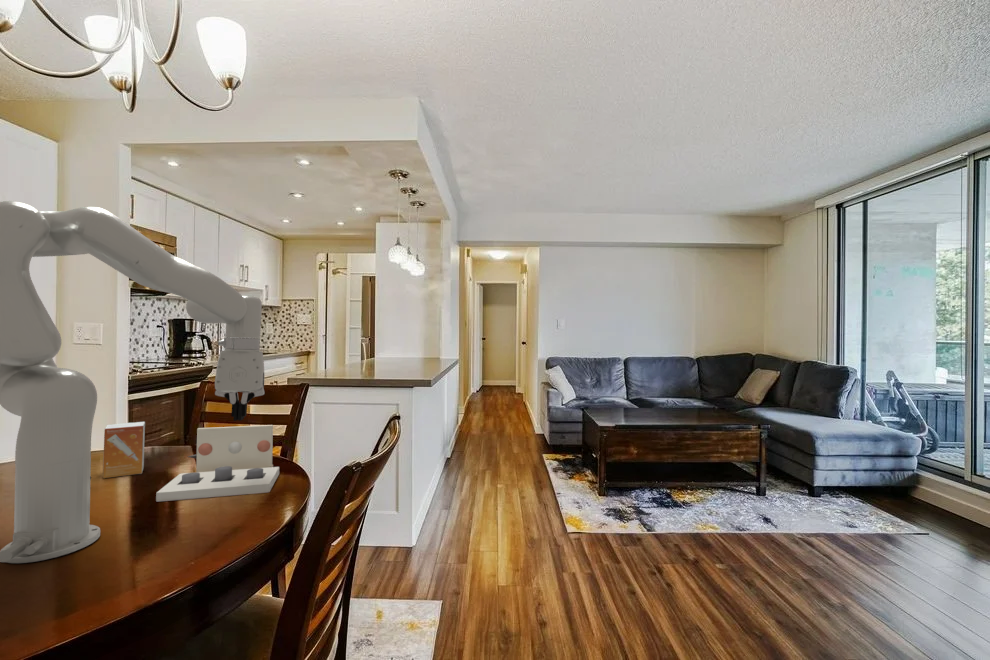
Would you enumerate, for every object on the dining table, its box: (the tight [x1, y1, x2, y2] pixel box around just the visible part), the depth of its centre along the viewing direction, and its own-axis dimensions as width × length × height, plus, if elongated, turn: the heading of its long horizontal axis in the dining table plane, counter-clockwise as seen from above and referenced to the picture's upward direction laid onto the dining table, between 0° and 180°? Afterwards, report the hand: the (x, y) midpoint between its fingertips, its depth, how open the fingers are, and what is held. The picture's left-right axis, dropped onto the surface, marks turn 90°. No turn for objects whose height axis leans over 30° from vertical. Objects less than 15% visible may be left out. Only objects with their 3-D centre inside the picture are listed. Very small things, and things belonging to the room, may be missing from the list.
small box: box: [102, 421, 146, 479], centre depth 118 cm, size 8×6×13 cm
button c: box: [247, 468, 263, 479], centre depth 111 cm, size 4×4×3 cm
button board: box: [155, 466, 280, 502], centre depth 109 cm, size 14×23×2 cm, turn 107°
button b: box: [215, 466, 232, 482], centre depth 109 cm, size 4×4×3 cm
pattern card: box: [195, 424, 274, 472], centre depth 120 cm, size 4×18×12 cm, turn 107°
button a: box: [182, 472, 200, 484], centre depth 107 cm, size 4×4×3 cm
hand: (238, 419), depth 109 cm, fingers closed
